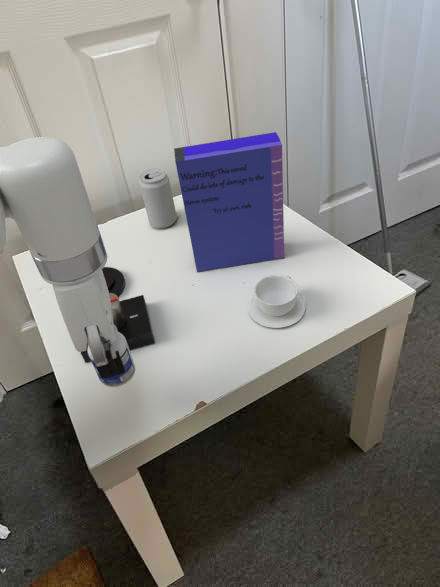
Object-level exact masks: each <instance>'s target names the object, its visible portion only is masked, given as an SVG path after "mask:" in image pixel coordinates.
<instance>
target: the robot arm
mask: <svg viewBox="0 0 440 587" xmlns="http://www.w3.org/2000/svg"><path fill="white" fill-rule="evenodd" d="M6 219H12V220H13V221H14V222H15V223H16V225H17V228H18V230H19V232H20V234H21V236H22V239H23V240H24V242H25V244H26V247H27V248H28V250H29V253H30V255H31V257H32V260H33V262H34V264H35V267H36V268H37V270H38V273H39V275H40V277H41V279H42V280H43V281H44V282H46V283H47V284H50V285H52V288H53V289H52V290H53V293H54V296H55V299H56V302H57V305H58V308H59V311H60V314H61V316H62V320H63V322H64V324H65V327H66V329H67V331H68V334H69V337H70V340H71V342H72V345H73V346H74V349H75V350H76V351H77V352H78V353H81V352H82V351H86V349H87V343H88V345H89V348H90V351H91V354H92V357H93V361H94V363H95V365H96V367H97V370H98V372H99V374H100V376H101V378H103V379H104V378H108V377H112V376H116V375H119V374H123V373H124V372H125V368H124V365H123V362H122V360H121V357H120V354H119V352H118V351H116V350H115V347H114V344H113V342H114V341H115V330H114V325H115V326H116V324H115V321H114V318H113V314H112V307H111V301H110V296H109V292H108V288H107V284H106V281H105V278H104V274H103V271H102V269H103V268H104V267H106V264H107V262H108V253H107V250H106V247H105V243H104V241H103V240H104V239H103V237H102V234H101V231H100V229H99V225H98V223H97V220H96V216H95V213H94V210H93V207H92V204H91V201H90V198H89V195H88V192H87V189H86V184H85V182H84V180H83V176H82V174H81V170H80V166H79V164H78V161H77V158H76V155H75V153H74V151H73V150H72V148H71V147H70V145H68V144H67V143H66V142H65V141H63V140H62V139H59V138H56V137H53V136H36V137H28V138H24V139H21V140H18V141H16V142H14V143H11V144H9V145H6V146H0V258H1V257H2V255H3V253H4V250H5V248H6V243H7V241H6V240H7V231H6V230H7V226H6V225H7V224H6ZM116 328H117V327H116ZM100 334H101V335H100ZM105 343H108V346H109V349H110V350H107V351H105V350H104V347H103V344H105Z"/></svg>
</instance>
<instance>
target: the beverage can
mask: <svg viewBox="0 0 440 587" xmlns="http://www.w3.org/2000/svg"><path fill="white" fill-rule="evenodd" d="M138 184H139V188H140V192H141V196H142V200H143V204H144V208H145V213H146V216H147V220H148V223H149V225H150V226H151V227H153V228H156V229H166V228H169V227H171V226H173V225H174V223H176V221H177V219H178V216H177V210H176V206H175V201H174V196H173V190H172V187H171V181H170V177H169V175H168V174H167V171H166V170H165V169H163V168H149V169H146V170H144V171H143V172H142V173H140V174H139V181H138Z"/></svg>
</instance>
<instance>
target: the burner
mask: <svg viewBox="0 0 440 587" xmlns="http://www.w3.org/2000/svg"><path fill="white" fill-rule="evenodd" d="M102 271H103V274H104V278H105V281H106V284H107V288H108V292H109V293H113V294H115V295H117V296H118V297H120V295H121V294H122V293H123V292H124V290H125V287H126V279H125V276H124V274H123V273H122V271H120V270H119V269H117V268H115V267H111V266H104V268H103V269H102Z"/></svg>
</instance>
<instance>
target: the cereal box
mask: <svg viewBox="0 0 440 587" xmlns="http://www.w3.org/2000/svg"><path fill="white" fill-rule="evenodd" d="M173 151H174V160H175V161H174V163H175V166H176V172H177V176H178V183H179V187H180V192H181V198H182V202H183V208H184V214H185V218H186V223H187V228H188V229H187V230H188V233H189V239H190V244H191V249H192V254H193V259H194V264H195V270H196V273H201V272H202V273H203V272H209V271H215V270H219V269H220V270H221V269H227V268H232V267H240V266H246V265H251V264H258V263H263V262H270V261H276V260H282V259H285V227H284V225H285V224H284V223H285V222H284V220H285V219H284V180H283V179H284V175H283V172H284V171H283V170H284V169H283V143H282V141H281V139H280V137H279V135H278V133H277V131H274V132H268V133H262V134H261V133H260V134H255V135H249V136H243V137H237V138H231V139H225V140H218V141H213V142H205V143H200V144H195V145H188V146H179V147H174V148H173Z"/></svg>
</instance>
